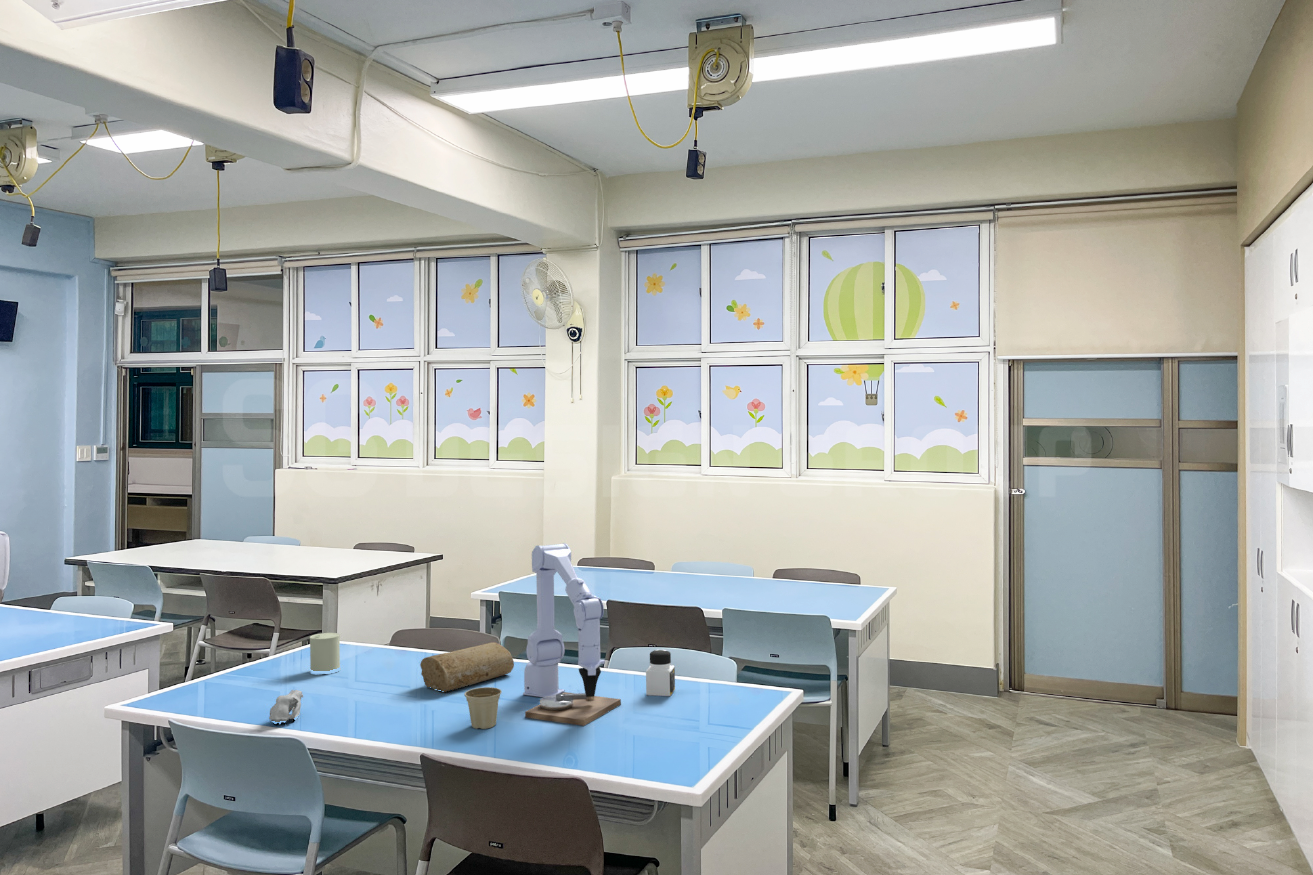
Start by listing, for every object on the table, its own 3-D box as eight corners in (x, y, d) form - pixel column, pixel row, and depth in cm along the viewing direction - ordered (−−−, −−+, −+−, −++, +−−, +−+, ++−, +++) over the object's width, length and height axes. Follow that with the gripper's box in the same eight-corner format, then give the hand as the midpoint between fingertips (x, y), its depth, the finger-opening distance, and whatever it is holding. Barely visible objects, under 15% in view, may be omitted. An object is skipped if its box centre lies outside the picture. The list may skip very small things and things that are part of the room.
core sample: (514, 676, 284) (514, 644, 284) (447, 696, 263) (446, 661, 263) (484, 669, 293) (484, 638, 293) (416, 688, 272) (416, 654, 272)
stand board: (525, 717, 241) (525, 710, 241) (565, 697, 259) (564, 691, 259) (583, 725, 233) (583, 719, 233) (620, 704, 251) (620, 698, 251)
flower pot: (484, 733, 228) (484, 699, 228) (457, 727, 233) (456, 694, 233) (509, 723, 236) (509, 690, 236) (482, 717, 241) (482, 685, 241)
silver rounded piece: (538, 710, 241) (538, 686, 241) (540, 700, 250) (540, 677, 250) (594, 708, 242) (594, 684, 242) (594, 698, 251) (594, 675, 251)
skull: (257, 718, 235) (275, 677, 244) (273, 735, 241) (289, 695, 250) (285, 717, 234) (301, 676, 243) (300, 735, 240) (315, 694, 248)
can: (303, 672, 291) (303, 635, 291) (328, 666, 299) (328, 630, 299) (321, 676, 286) (320, 638, 286) (346, 670, 294) (345, 633, 294)
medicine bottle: (670, 696, 258) (670, 654, 258) (646, 695, 260) (645, 653, 260) (675, 689, 265) (674, 648, 265) (651, 688, 266) (650, 647, 266)
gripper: (607, 649, 233) (608, 702, 233) (601, 637, 247) (602, 687, 247) (579, 651, 232) (580, 704, 232) (575, 639, 246) (576, 689, 246)
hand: (590, 696), depth 240 cm, fingers closed
